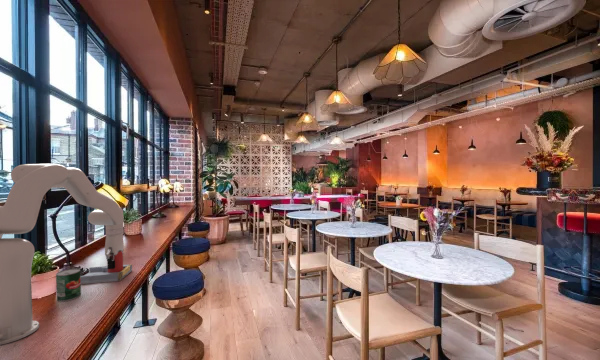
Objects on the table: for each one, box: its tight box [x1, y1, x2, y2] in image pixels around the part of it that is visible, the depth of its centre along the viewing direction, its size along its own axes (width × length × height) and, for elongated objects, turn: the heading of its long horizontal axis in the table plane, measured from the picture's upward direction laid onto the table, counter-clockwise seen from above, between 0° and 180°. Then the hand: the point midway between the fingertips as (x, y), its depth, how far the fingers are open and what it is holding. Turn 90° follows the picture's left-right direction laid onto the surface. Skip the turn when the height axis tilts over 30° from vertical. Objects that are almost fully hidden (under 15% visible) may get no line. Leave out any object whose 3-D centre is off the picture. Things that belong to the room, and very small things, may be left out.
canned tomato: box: [55, 268, 82, 302], centre depth 114 cm, size 8×8×11 cm
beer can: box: [108, 250, 124, 273], centre depth 137 cm, size 7×7×12 cm
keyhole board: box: [80, 263, 133, 285], centre depth 137 cm, size 15×20×4 cm
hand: (115, 265), depth 138 cm, fingers open, 8 cm apart
